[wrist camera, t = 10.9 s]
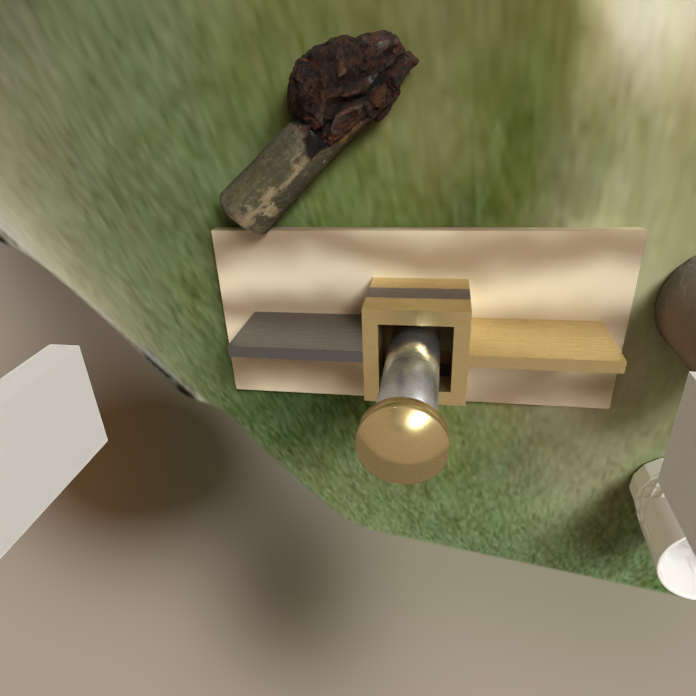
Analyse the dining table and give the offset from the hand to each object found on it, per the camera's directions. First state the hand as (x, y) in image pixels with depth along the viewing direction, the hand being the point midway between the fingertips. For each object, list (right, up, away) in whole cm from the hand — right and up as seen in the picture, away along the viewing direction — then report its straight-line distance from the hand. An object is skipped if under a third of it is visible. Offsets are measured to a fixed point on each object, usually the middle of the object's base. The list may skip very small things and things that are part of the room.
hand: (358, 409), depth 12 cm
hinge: (+6, +4, +35) cm, 36 cm away
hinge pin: (+6, +4, +35) cm, 36 cm away
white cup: (+31, -12, +40) cm, 52 cm away
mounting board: (+6, +4, +36) cm, 37 cm away
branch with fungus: (-3, +19, +31) cm, 36 cm away
